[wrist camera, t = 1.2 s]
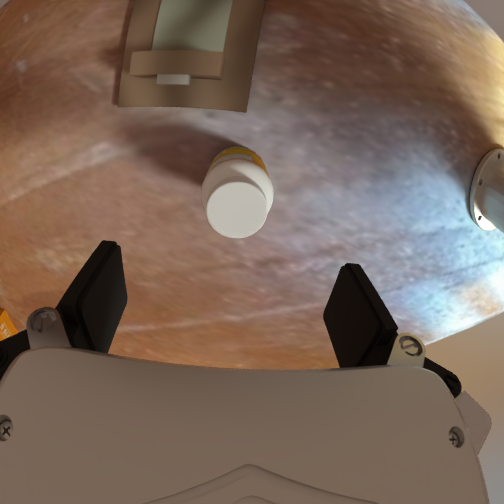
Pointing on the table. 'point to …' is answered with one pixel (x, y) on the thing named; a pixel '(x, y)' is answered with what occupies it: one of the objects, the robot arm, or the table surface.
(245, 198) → the supplement bottle
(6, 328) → the cereal box
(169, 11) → the holder
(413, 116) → the table surface
